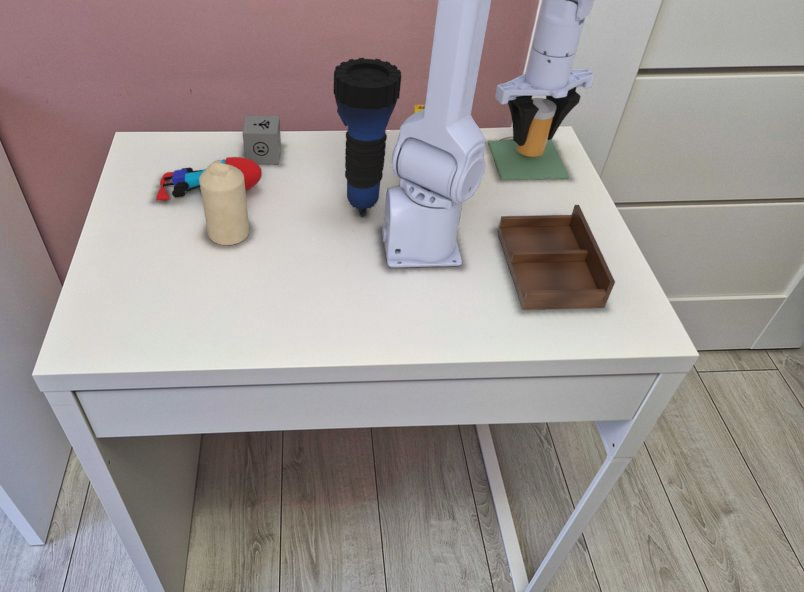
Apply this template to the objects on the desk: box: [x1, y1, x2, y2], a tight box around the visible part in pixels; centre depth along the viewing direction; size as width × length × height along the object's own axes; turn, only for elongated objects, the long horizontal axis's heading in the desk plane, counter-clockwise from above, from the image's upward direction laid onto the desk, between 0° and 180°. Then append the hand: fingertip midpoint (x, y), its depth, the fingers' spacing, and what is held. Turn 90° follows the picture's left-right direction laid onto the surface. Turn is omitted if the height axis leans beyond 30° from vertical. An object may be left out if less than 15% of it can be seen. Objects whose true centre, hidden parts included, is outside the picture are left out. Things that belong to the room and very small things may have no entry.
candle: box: [199, 162, 250, 246], centre depth 89 cm, size 6×6×10 cm
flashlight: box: [333, 57, 402, 218], centre depth 88 cm, size 8×8×20 cm
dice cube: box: [241, 115, 282, 165], centre depth 103 cm, size 5×5×5 cm
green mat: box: [487, 140, 570, 181], centre depth 105 cm, size 10×10×1 cm
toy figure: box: [155, 156, 263, 202], centre depth 97 cm, size 8×5×15 cm
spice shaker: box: [516, 97, 557, 157], centre depth 101 cm, size 4×4×7 cm
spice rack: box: [497, 204, 616, 311], centre depth 87 cm, size 10×15×4 cm, turn 3°
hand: (532, 139), depth 102 cm, fingers closed on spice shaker, 4 cm apart
